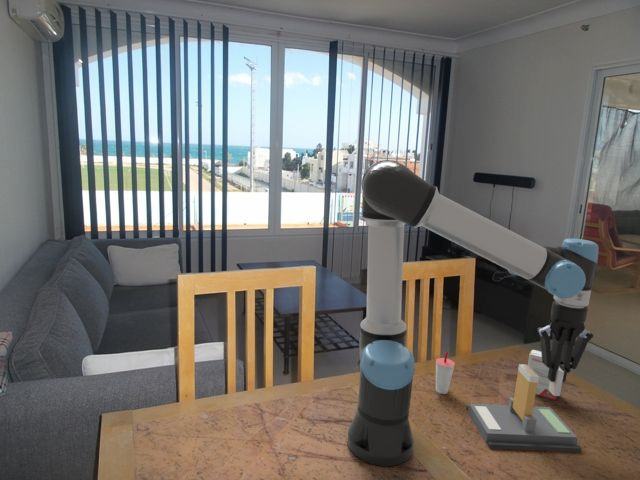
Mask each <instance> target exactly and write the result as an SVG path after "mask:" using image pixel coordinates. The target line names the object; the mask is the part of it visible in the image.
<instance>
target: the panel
mask: <svg viewBox="0 0 640 480" xmlns="http://www.w3.org/2000/svg"><path fill="white" fill-rule="evenodd" d="M513 400H514V396H513V397H511V396H509V397H508V402H507V403H508V404H489V403H471V402H470V403H468V405H467V406H468V411H467V413H468V415H469V416H470V418H471V420H472V422H473V423H474V425H475V427H476V428H477V430H478V432H479V433H480V436H481V437H482V439H483V440H484V442H485V443H486V444H488V442H509V443H532V444H555V445H577V444H578V436H577V434H575V433H574V432H573V430H572V429H571V428H570V427H569V426H568V425H567V424H566V423H565V422H564V421H563V420H562V419H561V417H560V416H559V415H558V414H557V413H556V412H555V411H554V410H553V408H551V407H550V406H539V407H535V406H533V412H532V416H524V418H523V420H522V419H521V418H520V417H519V415H518V414H517V413H516V411H515V410H514V409H513V408H512V406H513Z"/></svg>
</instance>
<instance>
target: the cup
mask: <svg viewBox="0 0 640 480" xmlns="http://www.w3.org/2000/svg"><path fill="white" fill-rule="evenodd" d="M455 365H456V363H455V361H453V360H452V359H448V352H446V351H445V353H444V357H438V358H436V359H435V391H436V393H438V394H442V395H447V394H448V392H449V388H450V385H451V381H452V377H453V372H454V368H455Z"/></svg>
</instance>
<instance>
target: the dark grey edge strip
mask: <svg viewBox="0 0 640 480" xmlns="http://www.w3.org/2000/svg"><path fill="white" fill-rule="evenodd" d="M487 447H488V448H489V449H499V450H500V449H505V450H523V451H524V450H525V451H527V450H528V451H530V450H531V451H548V452H549V451H550V452H551V451H552V452H572V453H574V452H575V453H580V452H581V453H582V447H581V446H580V445H577V444H576V445H555V444H532V443H509V442H488V443H487Z"/></svg>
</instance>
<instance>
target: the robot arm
mask: <svg viewBox="0 0 640 480" xmlns="http://www.w3.org/2000/svg"><path fill="white" fill-rule="evenodd" d="M361 190H362V198H361V199H362V200H361V203H362V204H361V205H362V206H361V207H362V208H361V212H362V213H361V215H362V216H361V218H362V219H363V220H364V221H365V222H366V223H367V225H368V226H367V227H368V228H367V231H368V232H367V235H368V236H367V269H366V271H367V273H366V316H365V318H364V319H362V320H361V322H360V326H359V341H358V352H359V388H358V401H357V410H356V411H355V414H354V417H353V419H352V421H351V423H350V425H349V427H348V431H347V436H346V437H347V439H346V443H347V447H348V449H349V450H350V452H351V453H352V454H353V455H354V456H356V457H357V458H358V459H360V460H361V461H364V462H365V463H368V464H371V465H376V466H381V467H394V466H398V465H401V464H404V463H405V462H407V461H408V460H410V458H411V457H412V454H413V450H414V437H413V432H412V428H411V424H410V420H409V417H410V407H411V399H412V398H411V397H412V389H413V380H414V376H415V371H416V369H415V368H416V367H415V357H414V355H413V353H412V351H411V350H410V349H409V348H408V347H407V336H408V335H407V334H408V333H407V332H408V330H407V328H408V326H407V324H406V323H405V321H404V320H402V303H403V302H402V299H403V298H402V297H403V294H402V293H403V273H404V272H403V267H404V245H405V243H404V242H405V241H404V240H405V239H404V238H405V225H407V226H410V227H412V228H414V229H416V228H418V227H423V228H426V229H427V230H428V231H431V232H433V233H434V234H437V235H439V236H440V237H443V238H445V239H447V240H448V241H450V242H452V243H455V244H456V245H459V246H460V247H463V248H464V249H466V250H469V251H470V252H472V253H474V254H476V255H477V256H480V257H482V258H484V259H486V260H488V261H490V262H491V263H493V264H495V265H498V266H500V267H502V268H503V269H506V270H507V271H508V273H509V274H510V275H514V276H519V277H522V278H524V279H525V280H527V281H529V282H531V283H532V284H534V285H537V286H538V287H541V288H542V289H544V290H546V291H547V293H549V294H551V295H552V296H553V299H554V301H553V300H552V303H551V309H550V319H549V321H548V322H547V325H546V326H544V327H537V329H536V330H537V331H536V332H537V333H538V334H539V337H540V338H539V339H540V340H539V341H540V352H541V353H542V362H543V363H544V364H545V365H546V366H547V367H548V368H549V373H548V379H549V380H550V383H549V389H548V390H549V391H550V392H551V393H552V394H553V395H554V396H556V397H560V396H561V391H562V385H563V383H565V382H566V380H567V374H569V373H570V372H571V370H575V369H577V368H578V365H579V363H580V361H581V358H582V356H583V354H584V352H585V349H586V348H587V345H588V343H589V342H590V340H592V339H593V337H594V334H593V333H592V332H590V331H588V330H587V329H586V326H585V322H586V320H587V315H588V310H589V308H588V307H587V306H589V304H590V297H591V293H592V288H593V284H594V278H595V275H596V268H597V264H598V262H599V261H598V259H599V250H600V249H599V248H600V247H599V245H598V244H597V243H596V242H594V241H592V240H587V239H581V238H573V237H572V238H568V237H567V238H565V239H564V240H563V242H562V244H561V246H550V245H549V246H548V245H539V244H537V243H535V242H534V241H532V240H530V239H528V238H526V237H524V236H522V235H520V234H518V233H516V232H515V231H512V230H510V229H509V228H506V227H505V226H502V225H501V224H499V223H497V222H495V221H493V220H491V219H489V218H487V217H485V216H483V215H481V214H479V213H477V212H475V211H473V210H471V208H468V207H466V206H463V205H462V204H460V203H458V202H456V201H454V200H452V199H450V198H448V197H446V196H444V195H442V194H440V193H439V190H438V186H435V185H434V184H432V183H431V182H428V181H426V180H425V179H423V178H422V177H420V175H417V174H416V173H415V172H413V171H412V170H411V169H410V168H409V167H408V166H406V165H405V164H402V163H400V162H398V161H397V160H391V159H385V160H384V159H383V160H379V161H376V162H375V163H373V164H371V165H370V166H369V167H368V168H367V169H366V170H365V172H364V174H363V176H362V180H361ZM551 334H552V337H551ZM550 337H551V338H552V345H551V339H550ZM559 366H560V368H559Z"/></svg>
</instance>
